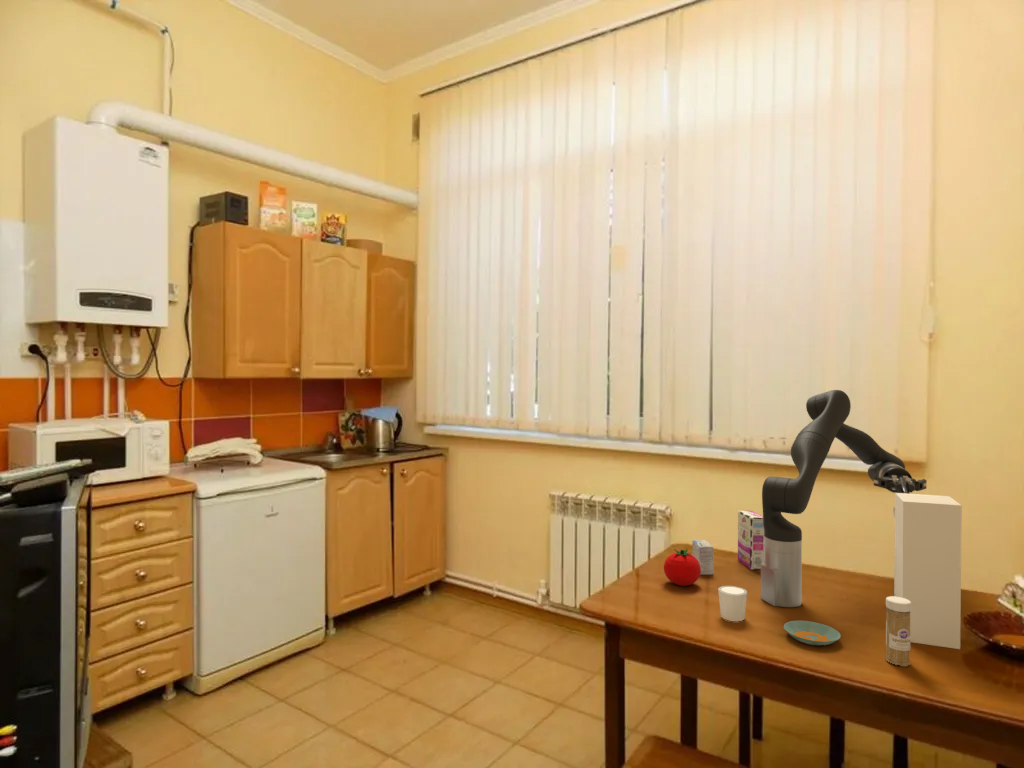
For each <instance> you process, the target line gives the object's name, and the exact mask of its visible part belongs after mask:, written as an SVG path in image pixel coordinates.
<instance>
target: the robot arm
mask: <svg viewBox="0 0 1024 768" xmlns="http://www.w3.org/2000/svg"><path fill="white" fill-rule="evenodd" d="M805 406H806V407H805V409H806V412H807V414H808V416H809V418H810V419H811V420H812V421H810V422H809V423H808V424H807V425H806V426H804V427H803V428H802V429H801V430H800V431H799V432H798V434H797V436H796V437H795V439H794V441H793V442H792V446H791V447H790V457H791V459H792V461H793V463H794V465H795V467H796V470H797V472H798V473H799V474H798V476H797V477H795V478H788V477H780V476H768V477H766V479H765V480H764V482H763V484H762V488H761V490H762V491H761V505H762V516H763V526H764V563H763V564H761V570H760V599H761V600H763V601H765V602H766V603H768V604H770V605H771V606H773V607H783V608H795V607H796V608H797V607H800V606H801V605H802V604H803V602H802V600H803V599H802V593H803V590H802V586H803V581H802V580H803V578H802V574H803V573H802V572H803V571H802V566H803V565H802V563H803V561H802V560H803V559H802V555H803V553H802V552H803V551H802V550H803V549H802V548H803V542H802V541H803V532H802V529H801V528H800V526H799V525H797V524H794V523H793V522H791V521H789V520H788V519H787V518H785V517H784V516H783V514H782V513H785V514H792V515H801V514H802V513H804V512H805V511H806V509H807V507H808V505H809V502H810V499H811V496H812V493H813V489H814V487H815V483H816V479H817V478H818V475H819V474H820V471H821V469H822V466H823V465H824V462H825V460H826V459H827V457H828V455H829V452H830V451H831V450H830V449H831V447H832V445H833V442H834V441H835V438H836V439H837V440H838V441H840V442H842V443H843V444H844V445H845V446H846V447H847V448H849V449H850V450H851V452H853V454H855V455H856V457H857V458H859V460H860V461H861V462H863V464H865V465H868V466H869V468H868V469H867V475H868V477H869V479H871V481H873V486H874V487H879V488H882V489H885V490H888V491H889V492H890V493H893V494H895V493H901V491H902V484H901V483H900V482H898V478H900V477H904V478H906V481H907V485H908V490H909V493H913V492H915V491H916V492H920V491H923V490H926V489H927V487H928V485H927V479H925V478H923V479H917V480H916V478H913V477H912V475H911V473H910V472H909V471H908V470H906V465H905V462H904V461H903V460H902V459H901V458H900V457H898V456H896V455H894V454H892V453H890V452H888V451H887V450H885V449H884V448H883V447H882V446H881V445H879V444H878V443H877V441H876V440H874V438H873V437H872V436H870V435H869V434H868V433H866V432H865V431H863V430H861V429H858V428H855V427H853V426H850V425H848V424H846V423H845V421H846V420H847V418H849V415H850V412H851V400H850V397H849V396H848V394H847V393H846V392H844V390H841V389H840V390H839V389H832V390H828V391H825V392H822V393H819V394H816V395H813V396H810V397H809V398H808V399H807V401H806V405H805Z"/></svg>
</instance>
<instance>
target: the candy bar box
mask: <svg viewBox="0 0 1024 768" xmlns="http://www.w3.org/2000/svg"><path fill="white" fill-rule="evenodd" d="M737 514H738V515H737V560H738V562H740V563H741V564H742V563H743V566H745V567H746V566H747V567H746V568H748V569H749V570H750V571H761V564H763V563H764V526H763V515H761V514H758V512H755V511H754V510H738V511H737Z"/></svg>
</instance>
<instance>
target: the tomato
mask: <svg viewBox="0 0 1024 768" xmlns="http://www.w3.org/2000/svg"><path fill="white" fill-rule="evenodd" d="M673 550H674V552H672V553H670V555H668V556H667V557H666V559H665V560H664V563H663V571H664V574H665V577H666V578H667V579H668V580H669V581H670V582H671V583H673V584H675V585H678V586H683V587H685V586H690V585H693V584H694V583H696V581H698V580H699V578H700V576H701V575H700V574H701V567H700V564H699V561H698V560H697V559H696V558H695V557H694V556H693V554H692V552H688V548H687V549H685V550H684V549H680V550H676V549H674V548H673Z"/></svg>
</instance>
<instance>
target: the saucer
mask: <svg viewBox="0 0 1024 768" xmlns="http://www.w3.org/2000/svg"><path fill="white" fill-rule="evenodd" d="M783 629H784V630H785V631H786V632H787V633H788V634H789V635H790V636H791V637H792V638H793V639H795V640H796V641H798V642H800V643H802V642H803V643H802V644H805V643H806V645H809V644H811V645H810V646H814V645H824V646H827V645H830V644H834V643H835V642H837V641H838V640H840V638H841V636H842V635H841V633H840V632H839V631H838V630H837V629H836V628H833V627H832V626H829V625H826V624H823V623H820V622H815V621H809V620H790V621H788V622H786V623H784V625H783ZM801 631H806V632H814V633H818V634H820V635H823V636H825V637H827V638H828V639H829V640H830V641H814V639H817V638H821V637H818V636H817V635H809V636H806V637H807V638H811V639H804V638H801V637H798V636H795V635H793V634H794V633H795V632H801Z"/></svg>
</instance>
